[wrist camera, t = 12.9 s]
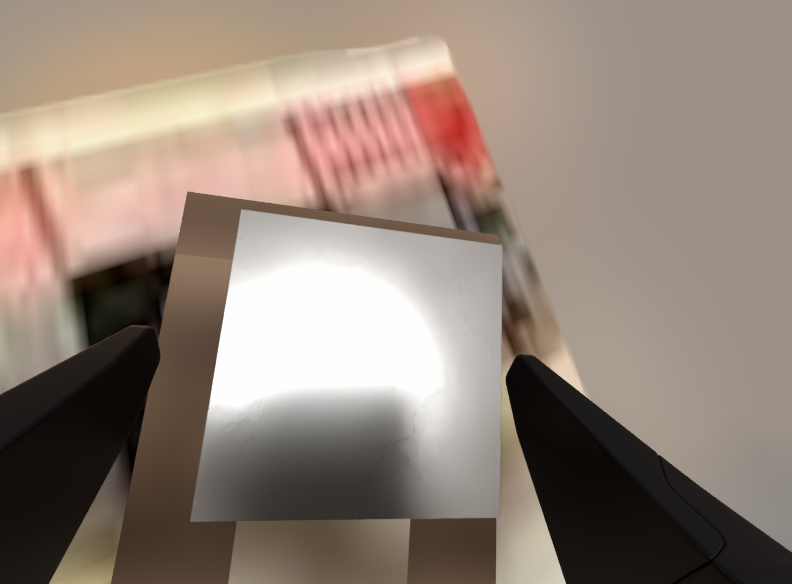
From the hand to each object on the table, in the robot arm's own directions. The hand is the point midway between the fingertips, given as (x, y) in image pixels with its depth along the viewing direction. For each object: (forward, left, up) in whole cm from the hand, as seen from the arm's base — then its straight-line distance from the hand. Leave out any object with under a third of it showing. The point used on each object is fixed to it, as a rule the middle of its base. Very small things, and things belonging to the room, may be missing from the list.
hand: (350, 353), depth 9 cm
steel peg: (0, 0, -7) cm, 7 cm away
